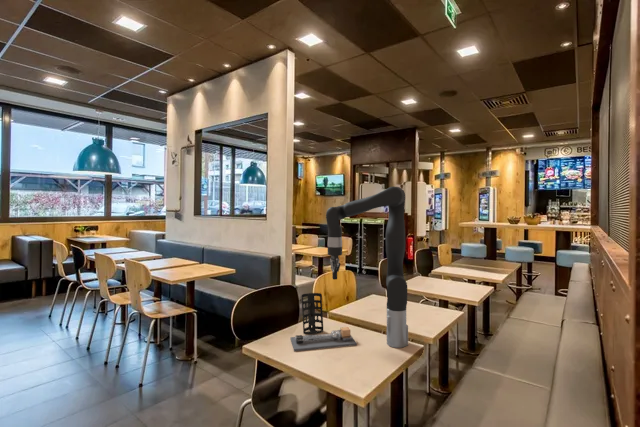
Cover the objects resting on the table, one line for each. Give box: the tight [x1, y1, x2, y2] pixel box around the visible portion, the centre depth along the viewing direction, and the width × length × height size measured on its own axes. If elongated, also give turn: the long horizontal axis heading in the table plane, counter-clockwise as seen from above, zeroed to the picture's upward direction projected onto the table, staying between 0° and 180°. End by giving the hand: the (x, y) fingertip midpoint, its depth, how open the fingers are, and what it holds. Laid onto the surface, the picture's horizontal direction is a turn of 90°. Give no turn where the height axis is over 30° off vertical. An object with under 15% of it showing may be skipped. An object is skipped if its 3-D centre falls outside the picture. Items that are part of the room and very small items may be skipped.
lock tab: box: [339, 326, 351, 337], centre depth 168 cm, size 4×4×3 cm
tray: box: [290, 336, 358, 352], centre depth 166 cm, size 30×14×1 cm, turn 102°
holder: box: [301, 292, 324, 335], centre depth 179 cm, size 11×8×20 cm
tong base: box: [296, 329, 354, 344], centre depth 167 cm, size 27×11×3 cm, turn 102°
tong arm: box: [294, 333, 333, 340], centre depth 165 cm, size 19×3×1 cm, turn 102°
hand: (334, 279), depth 175 cm, fingers closed
